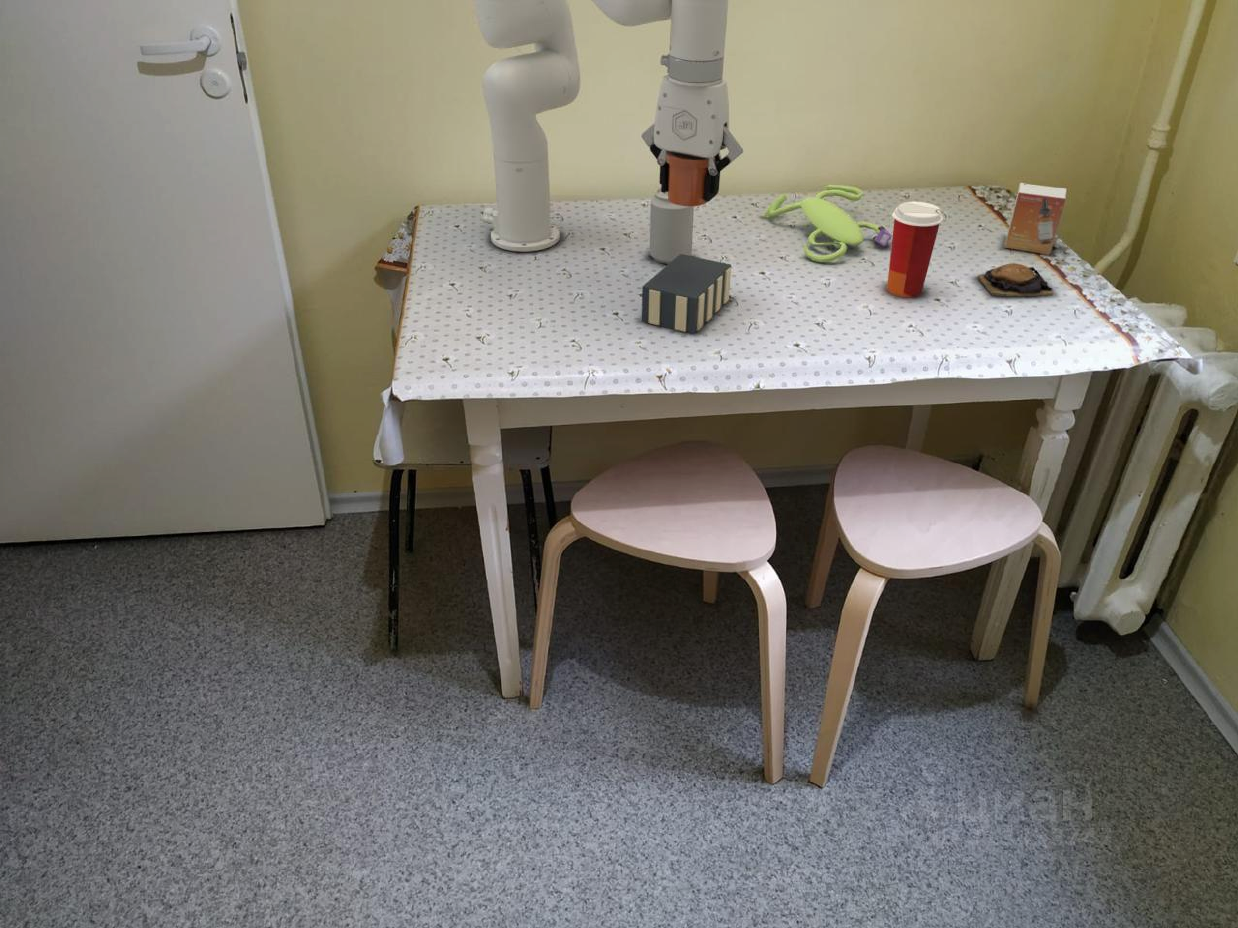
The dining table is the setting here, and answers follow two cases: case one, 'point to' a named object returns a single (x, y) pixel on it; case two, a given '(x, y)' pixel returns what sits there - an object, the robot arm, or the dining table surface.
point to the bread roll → (1015, 281)
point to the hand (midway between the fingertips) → (688, 193)
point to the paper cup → (912, 247)
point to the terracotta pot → (686, 178)
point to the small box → (1035, 218)
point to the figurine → (830, 221)
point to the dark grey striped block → (686, 293)
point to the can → (669, 228)
